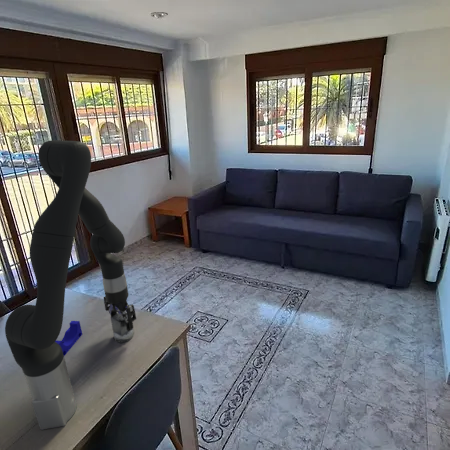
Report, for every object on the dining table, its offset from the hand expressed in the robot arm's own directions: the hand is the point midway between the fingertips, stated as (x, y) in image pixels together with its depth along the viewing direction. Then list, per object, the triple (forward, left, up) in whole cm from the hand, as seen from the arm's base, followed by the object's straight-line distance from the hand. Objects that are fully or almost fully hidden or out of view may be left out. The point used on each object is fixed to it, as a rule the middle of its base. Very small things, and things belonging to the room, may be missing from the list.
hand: (122, 325), depth 114 cm
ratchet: (+3, 0, -5) cm, 6 cm away
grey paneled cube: (0, 0, -2) cm, 2 cm away
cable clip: (-1, +19, -5) cm, 20 cm away
